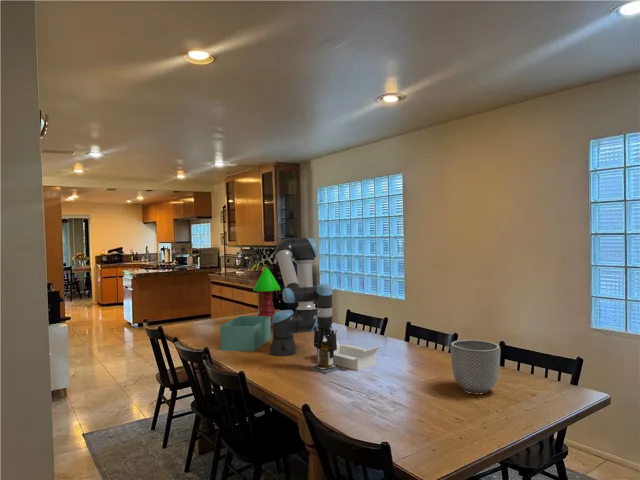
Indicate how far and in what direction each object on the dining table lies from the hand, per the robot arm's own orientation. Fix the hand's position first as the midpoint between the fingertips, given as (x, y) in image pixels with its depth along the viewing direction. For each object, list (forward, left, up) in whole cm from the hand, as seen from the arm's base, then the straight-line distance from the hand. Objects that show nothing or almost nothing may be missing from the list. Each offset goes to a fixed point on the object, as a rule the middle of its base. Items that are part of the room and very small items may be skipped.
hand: (325, 362), depth 218 cm
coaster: (0, 0, -3) cm, 3 cm away
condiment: (0, 0, -2) cm, 2 cm away
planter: (+67, +21, -3) cm, 70 cm away
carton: (+1, +16, -3) cm, 16 cm away
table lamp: (-96, +40, -3) cm, 104 cm away
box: (-72, +5, -4) cm, 72 cm away
